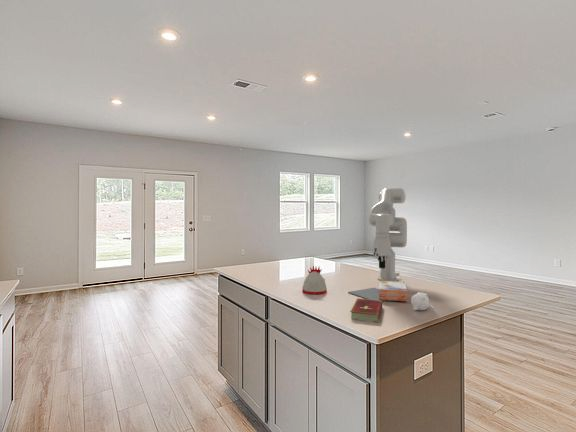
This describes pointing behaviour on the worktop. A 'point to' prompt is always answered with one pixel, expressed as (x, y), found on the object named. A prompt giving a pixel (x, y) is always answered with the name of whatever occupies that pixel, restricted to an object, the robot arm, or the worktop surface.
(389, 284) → the cracker box
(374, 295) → the mat
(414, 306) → the crumpled paper ball
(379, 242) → the robot arm
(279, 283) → the worktop surface
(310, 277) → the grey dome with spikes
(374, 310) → the hardcover book
